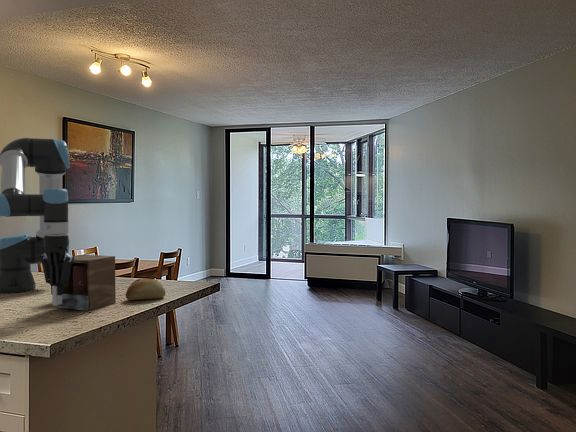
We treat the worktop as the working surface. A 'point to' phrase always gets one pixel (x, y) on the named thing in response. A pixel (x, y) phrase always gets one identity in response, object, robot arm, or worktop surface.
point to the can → (80, 280)
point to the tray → (74, 302)
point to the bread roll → (145, 289)
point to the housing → (96, 279)
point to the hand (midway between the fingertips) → (57, 304)
